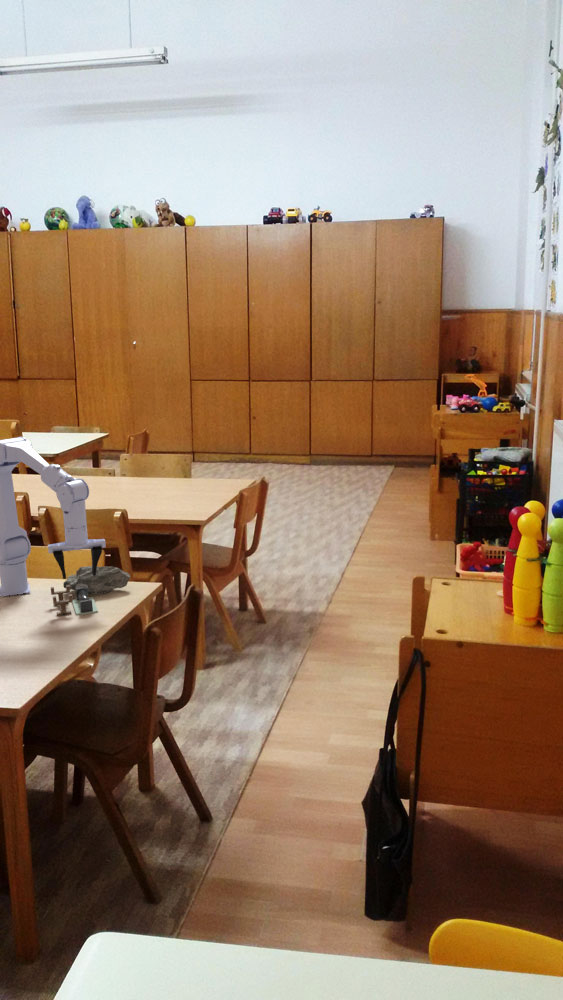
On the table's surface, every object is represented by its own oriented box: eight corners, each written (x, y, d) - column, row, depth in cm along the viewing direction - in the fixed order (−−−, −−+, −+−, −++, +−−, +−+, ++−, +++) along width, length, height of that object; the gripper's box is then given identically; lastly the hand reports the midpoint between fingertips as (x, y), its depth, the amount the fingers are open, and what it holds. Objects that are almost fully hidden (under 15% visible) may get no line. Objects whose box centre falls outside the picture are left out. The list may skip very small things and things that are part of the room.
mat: (72, 601, 219) (71, 599, 219) (92, 598, 221) (92, 597, 221) (76, 615, 208) (76, 613, 208) (98, 612, 210) (98, 610, 209)
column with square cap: (76, 599, 219) (75, 588, 219) (87, 597, 220) (87, 587, 219) (81, 612, 208) (80, 601, 207) (92, 611, 209) (92, 600, 208)
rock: (66, 593, 218) (62, 560, 222) (65, 607, 226) (61, 575, 230) (133, 585, 224) (128, 553, 228) (130, 599, 232) (125, 568, 236)
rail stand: (52, 605, 216) (50, 587, 215) (70, 602, 218) (69, 585, 217) (54, 616, 207) (53, 597, 206) (73, 613, 209) (72, 595, 208)
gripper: (47, 532, 204) (52, 583, 207) (105, 526, 208) (109, 577, 211) (45, 526, 210) (50, 576, 213) (102, 521, 215) (105, 569, 218)
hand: (79, 576), depth 213 cm, fingers open, 7 cm apart
